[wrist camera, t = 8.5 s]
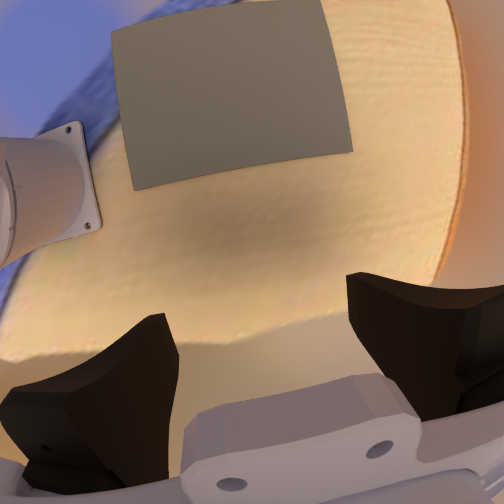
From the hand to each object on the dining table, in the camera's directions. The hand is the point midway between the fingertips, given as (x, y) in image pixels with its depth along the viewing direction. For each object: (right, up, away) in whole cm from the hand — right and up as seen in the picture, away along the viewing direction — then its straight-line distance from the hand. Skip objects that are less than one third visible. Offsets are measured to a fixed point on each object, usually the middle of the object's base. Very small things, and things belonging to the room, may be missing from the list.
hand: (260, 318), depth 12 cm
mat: (-2, +14, +7) cm, 15 cm away
